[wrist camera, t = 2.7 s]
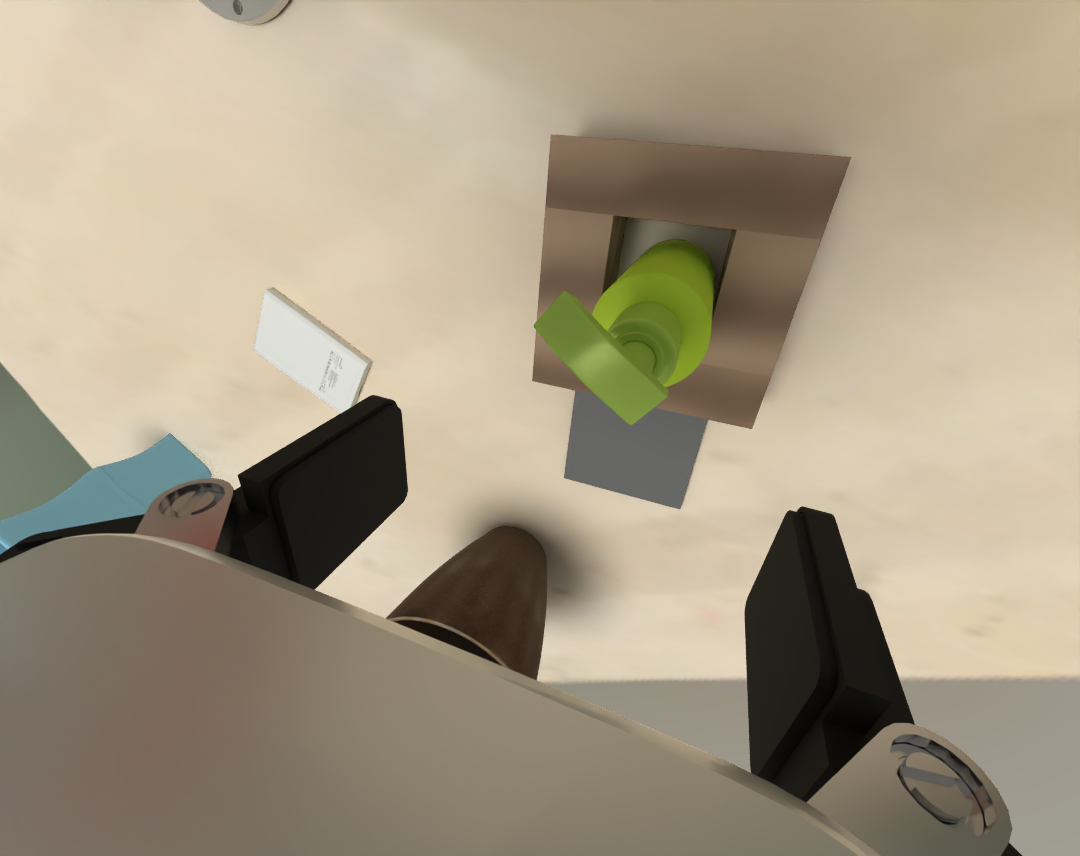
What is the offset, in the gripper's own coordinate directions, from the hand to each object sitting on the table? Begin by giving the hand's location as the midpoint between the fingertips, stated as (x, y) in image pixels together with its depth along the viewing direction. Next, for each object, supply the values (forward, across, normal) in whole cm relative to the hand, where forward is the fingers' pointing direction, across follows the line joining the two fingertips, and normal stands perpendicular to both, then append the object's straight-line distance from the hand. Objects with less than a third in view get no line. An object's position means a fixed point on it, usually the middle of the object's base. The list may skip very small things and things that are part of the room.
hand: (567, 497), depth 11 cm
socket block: (+27, +1, 0) cm, 27 cm away
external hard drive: (+27, +35, +12) cm, 46 cm away
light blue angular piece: (+27, +63, +36) cm, 77 cm away
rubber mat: (+27, +1, +14) cm, 30 cm away
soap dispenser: (+27, +1, 0) cm, 27 cm away
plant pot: (+27, +11, +32) cm, 43 cm away
